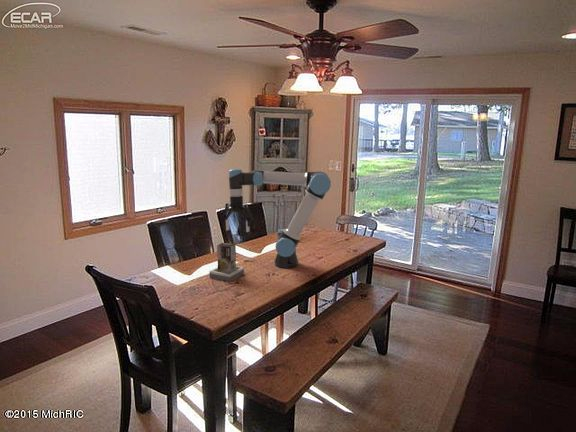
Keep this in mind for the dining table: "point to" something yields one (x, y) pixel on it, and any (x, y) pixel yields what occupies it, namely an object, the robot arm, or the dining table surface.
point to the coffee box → (226, 257)
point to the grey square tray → (226, 274)
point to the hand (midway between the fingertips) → (237, 230)
